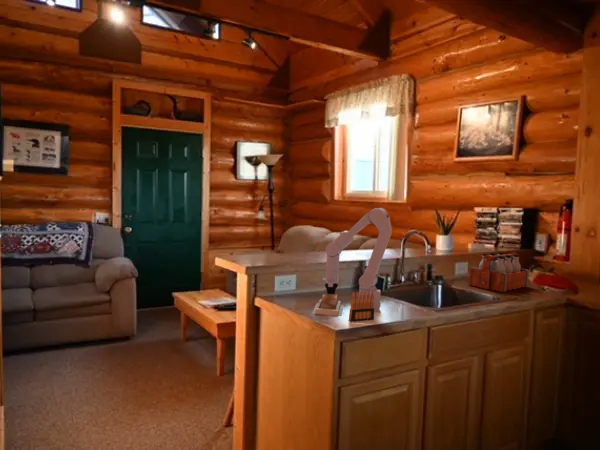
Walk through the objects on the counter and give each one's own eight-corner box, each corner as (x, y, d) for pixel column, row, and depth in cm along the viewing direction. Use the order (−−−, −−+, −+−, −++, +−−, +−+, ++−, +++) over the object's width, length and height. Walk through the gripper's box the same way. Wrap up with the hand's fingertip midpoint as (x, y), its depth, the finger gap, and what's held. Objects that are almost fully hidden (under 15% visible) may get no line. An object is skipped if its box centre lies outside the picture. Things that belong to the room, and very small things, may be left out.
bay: (343, 306, 210) (343, 301, 210) (341, 317, 192) (341, 311, 192) (316, 304, 211) (316, 298, 211) (311, 314, 194) (312, 308, 194)
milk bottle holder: (465, 285, 273) (468, 252, 272) (496, 280, 296) (498, 249, 294) (500, 293, 257) (503, 257, 256) (530, 287, 280) (533, 254, 278)
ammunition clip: (351, 322, 185) (352, 292, 184) (348, 321, 187) (350, 291, 186) (374, 320, 190) (376, 291, 189) (371, 319, 191) (373, 290, 190)
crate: (336, 306, 208) (337, 294, 208) (335, 309, 202) (336, 297, 202) (322, 304, 209) (323, 293, 209) (321, 308, 203) (322, 296, 203)
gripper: (324, 266, 220) (323, 295, 221) (321, 271, 206) (320, 302, 207) (340, 267, 219) (338, 296, 220) (338, 273, 205) (336, 304, 206)
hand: (330, 299), depth 213 cm, fingers closed
